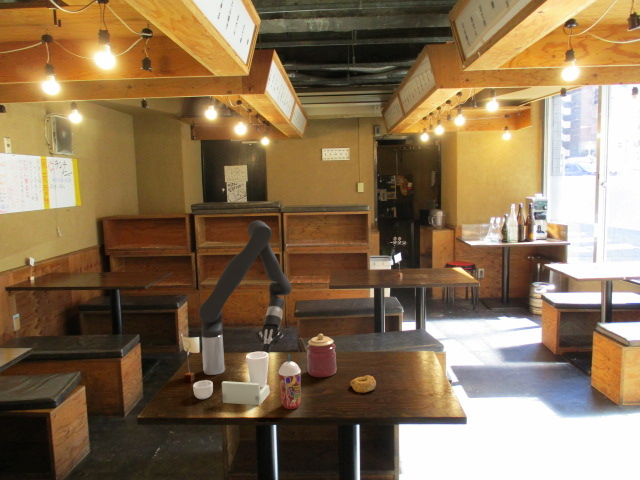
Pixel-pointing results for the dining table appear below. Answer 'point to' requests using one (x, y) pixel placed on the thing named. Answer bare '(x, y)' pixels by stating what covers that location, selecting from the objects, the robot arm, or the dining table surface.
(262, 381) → the foam cup
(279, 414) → the dining table surface
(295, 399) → the smoothie
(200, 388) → the teacup
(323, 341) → the canister
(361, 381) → the bagel
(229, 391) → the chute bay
